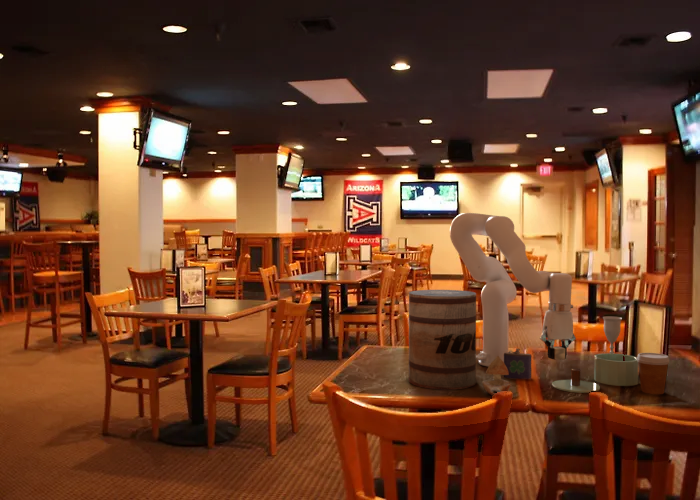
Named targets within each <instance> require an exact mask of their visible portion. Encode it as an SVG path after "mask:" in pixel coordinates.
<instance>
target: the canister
mask: <svg viewBox="0 0 700 500" xmlns="http://www.w3.org/2000/svg"><path fill="white" fill-rule="evenodd" d="M623 356H624V357H625V361H623ZM637 357H638V356H634V355H630V354H625V355H624V354H623V353H610V352H609V353H608V352H607V353H604V352H603V353H598V354H597V353H596V354H595V355H594V356H593V380H594V381H595V382H597V383H599V384H603V385H609V386H618V387H630V386H631V387H632V386H637V385H639V383H640V375H639V367H638V361H637V359H636V358H637Z"/></svg>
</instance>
